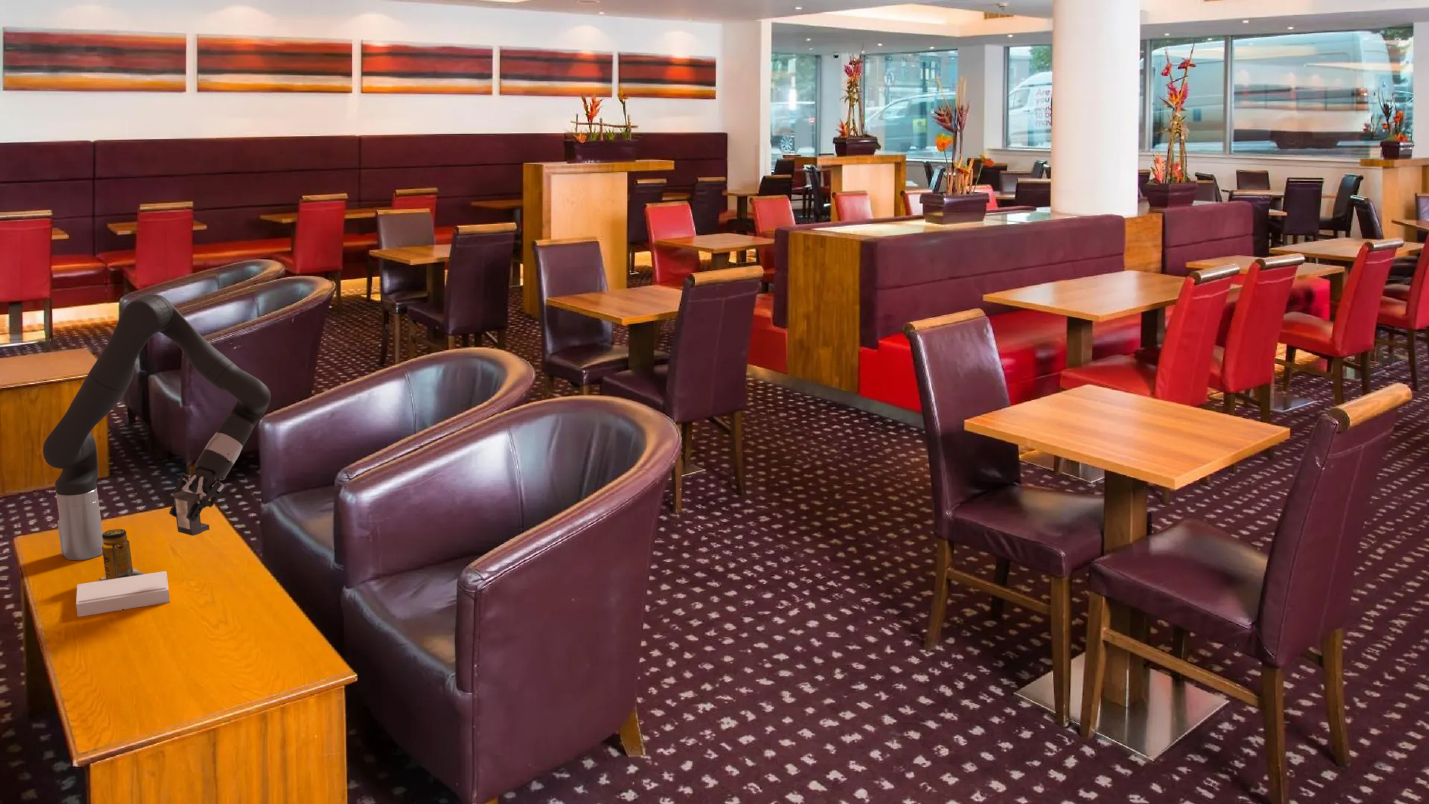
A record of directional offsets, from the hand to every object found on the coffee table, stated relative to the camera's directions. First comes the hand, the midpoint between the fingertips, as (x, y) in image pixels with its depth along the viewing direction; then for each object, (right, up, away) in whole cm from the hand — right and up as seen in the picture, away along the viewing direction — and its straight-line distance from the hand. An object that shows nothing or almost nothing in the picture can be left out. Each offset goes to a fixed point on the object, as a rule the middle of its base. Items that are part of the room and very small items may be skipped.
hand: (181, 517), depth 282 cm
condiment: (-19, -16, +12) cm, 28 cm away
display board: (-13, -19, -1) cm, 23 cm away
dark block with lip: (+1, -4, +3) cm, 5 cm away
